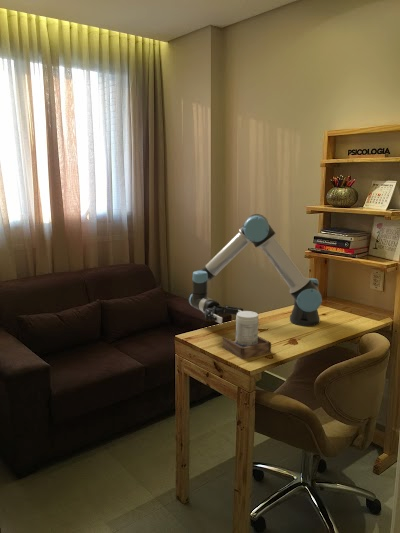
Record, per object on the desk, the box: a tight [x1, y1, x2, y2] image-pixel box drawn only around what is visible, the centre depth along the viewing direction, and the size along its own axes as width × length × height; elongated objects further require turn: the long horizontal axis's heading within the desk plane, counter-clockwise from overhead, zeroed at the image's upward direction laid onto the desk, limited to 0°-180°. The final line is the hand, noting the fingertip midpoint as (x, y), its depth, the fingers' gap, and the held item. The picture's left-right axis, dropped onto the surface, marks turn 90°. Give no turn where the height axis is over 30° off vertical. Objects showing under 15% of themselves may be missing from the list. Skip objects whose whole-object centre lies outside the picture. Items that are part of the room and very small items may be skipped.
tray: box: [221, 335, 272, 360], centre depth 197 cm, size 15×15×4 cm
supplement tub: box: [235, 310, 259, 347], centre depth 195 cm, size 10×10×15 cm
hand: (234, 318), depth 203 cm, fingers open, 13 cm apart
